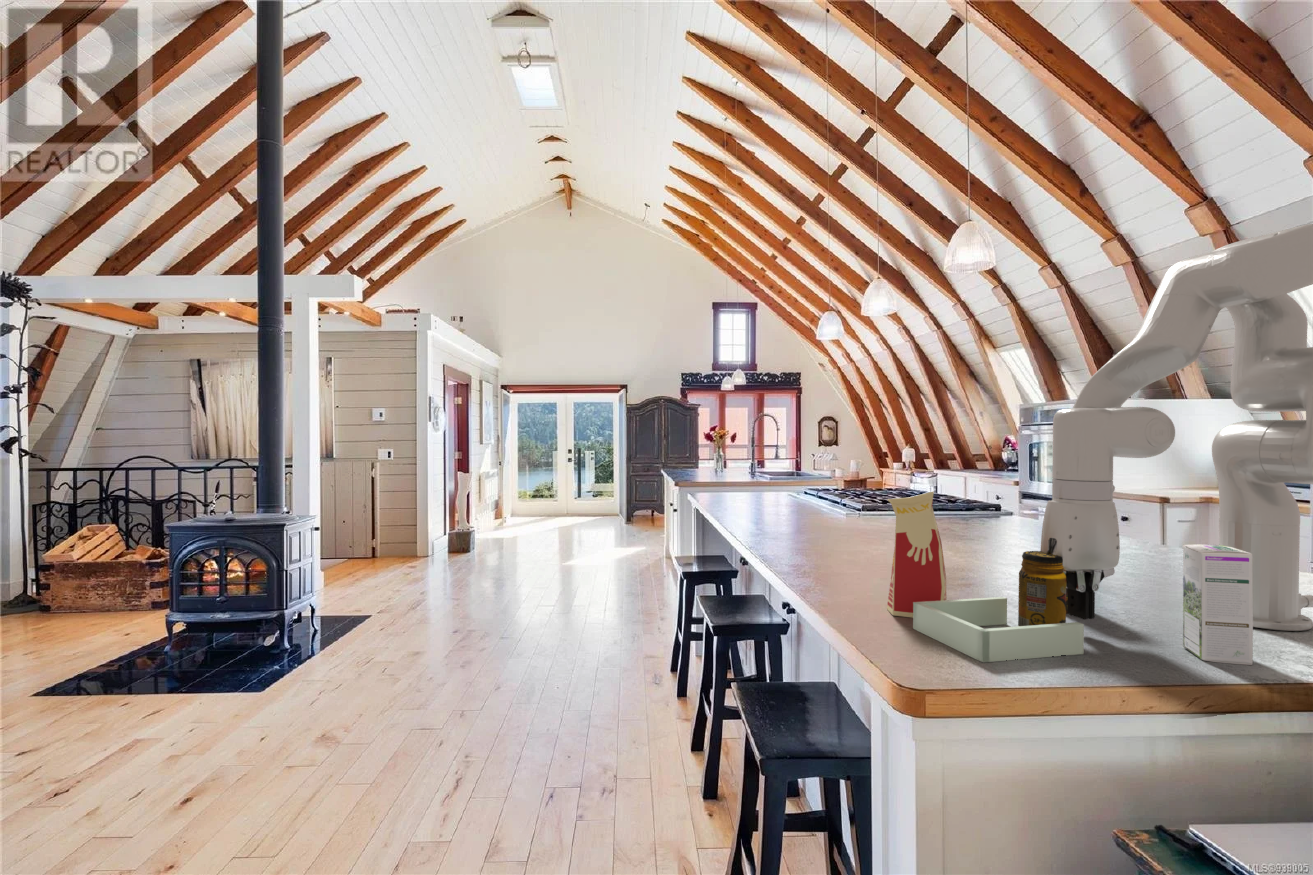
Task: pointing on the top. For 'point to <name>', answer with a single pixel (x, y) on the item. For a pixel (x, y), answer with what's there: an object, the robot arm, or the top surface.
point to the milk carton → (916, 556)
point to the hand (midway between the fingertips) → (1080, 616)
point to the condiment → (1041, 589)
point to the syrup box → (1218, 603)
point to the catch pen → (993, 631)
